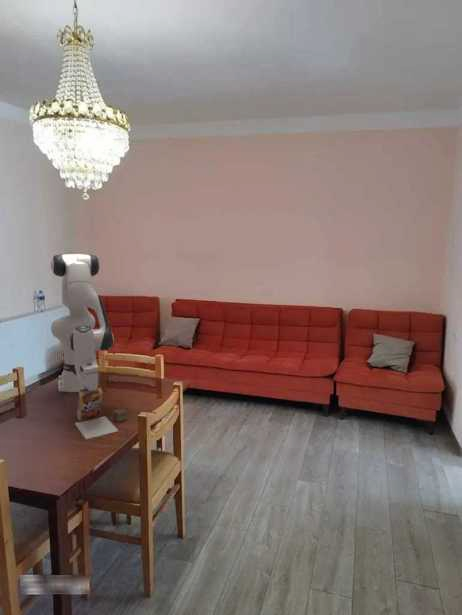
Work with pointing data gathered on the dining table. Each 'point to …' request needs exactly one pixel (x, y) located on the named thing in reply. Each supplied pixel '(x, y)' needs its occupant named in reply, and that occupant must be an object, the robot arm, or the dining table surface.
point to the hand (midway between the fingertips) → (87, 394)
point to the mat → (96, 427)
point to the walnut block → (119, 415)
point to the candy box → (89, 404)
